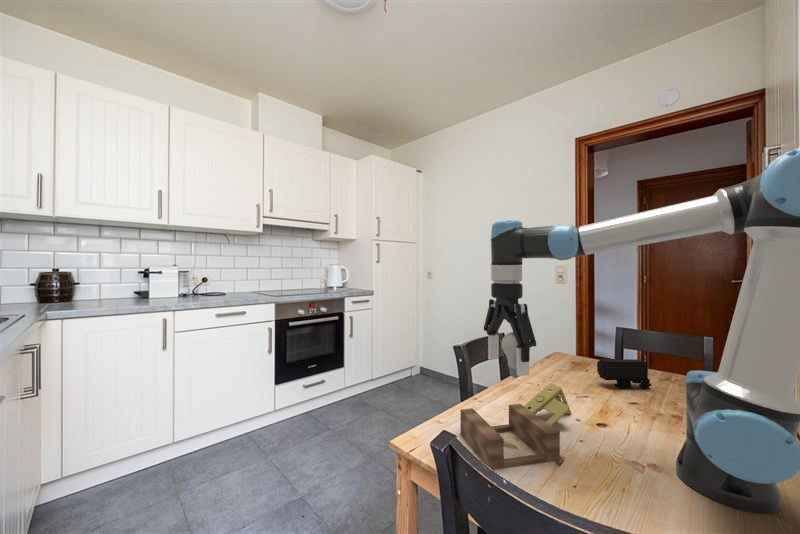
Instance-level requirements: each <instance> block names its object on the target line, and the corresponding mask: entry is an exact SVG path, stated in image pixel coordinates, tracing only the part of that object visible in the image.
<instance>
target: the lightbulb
mask: <svg viewBox="0 0 800 534" xmlns="http://www.w3.org/2000/svg"><path fill="white" fill-rule="evenodd" d="M522 342H523V341H522ZM517 345H519V344H518V342H517V340H516V337H515V335H514V332H513V331H512V332H508V333H507V334H505V335H504V336H503V338H502V339H501V349H502V351H503V353H504V355H505V356H506V360H507V367H508V368H509V369H508V370H509V375H510V376H511V377H512V378H514V379H517V378H519V377H520V376H518V375H517V347H516V346H517Z"/></svg>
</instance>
